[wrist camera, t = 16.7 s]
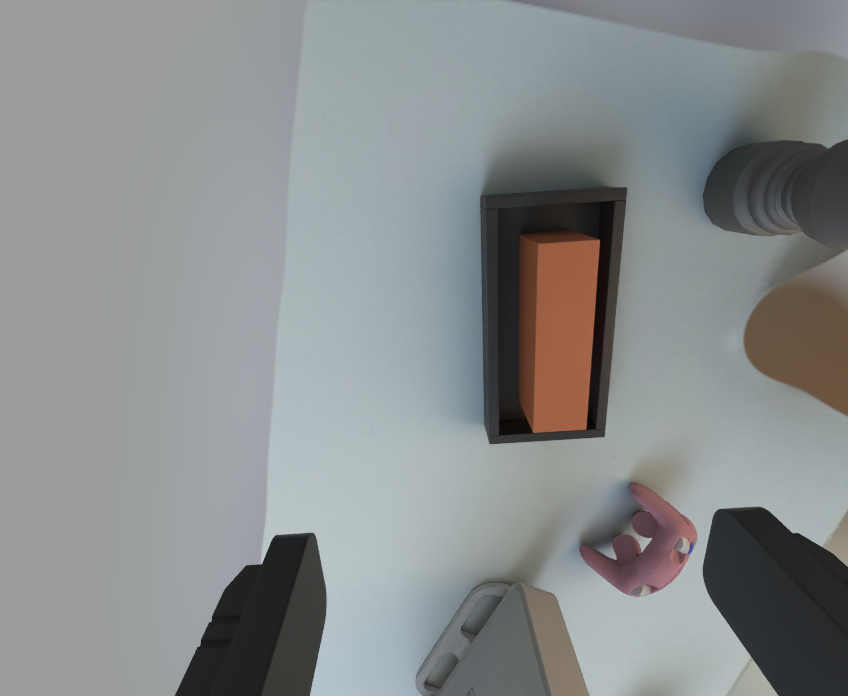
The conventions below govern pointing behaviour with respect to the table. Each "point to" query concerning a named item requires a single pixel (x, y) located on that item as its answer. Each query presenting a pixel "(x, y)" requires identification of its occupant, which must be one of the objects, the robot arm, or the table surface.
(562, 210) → the tray
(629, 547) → the video game controller
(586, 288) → the rectangular block
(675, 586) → the table surface
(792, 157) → the candle holder
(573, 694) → the network device
